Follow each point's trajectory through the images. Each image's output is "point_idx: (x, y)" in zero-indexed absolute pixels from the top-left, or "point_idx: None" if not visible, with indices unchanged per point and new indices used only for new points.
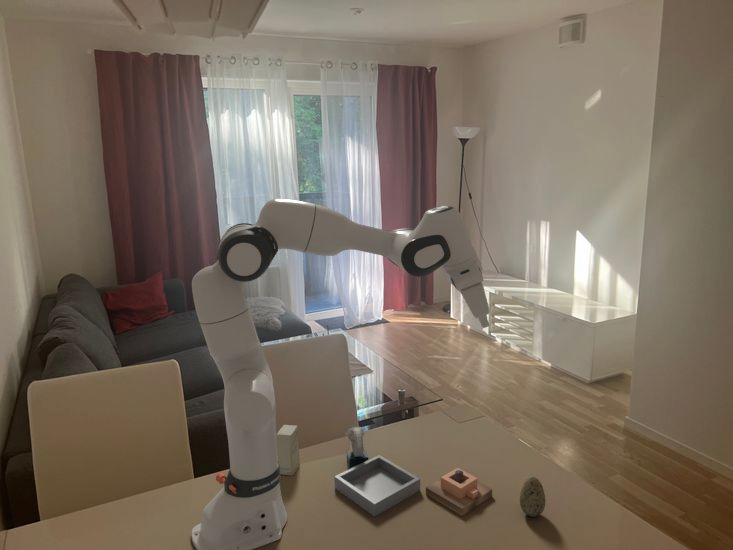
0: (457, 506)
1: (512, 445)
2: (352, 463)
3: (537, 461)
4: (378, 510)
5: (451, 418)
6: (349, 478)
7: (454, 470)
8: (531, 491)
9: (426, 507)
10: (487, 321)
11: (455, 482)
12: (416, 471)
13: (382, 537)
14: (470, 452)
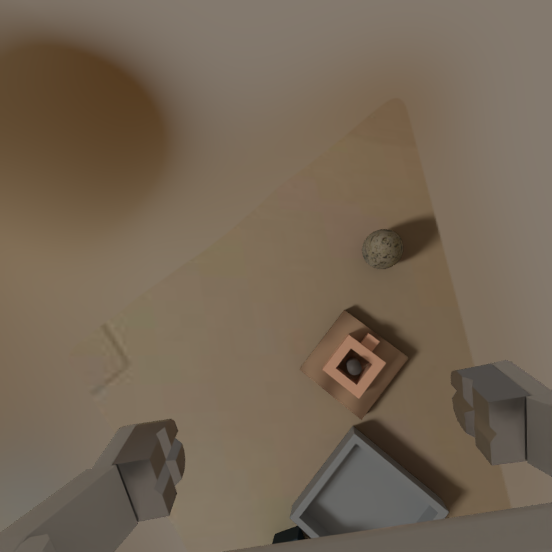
0: (402, 365)
1: (192, 274)
2: None
3: (234, 237)
4: (436, 496)
5: (114, 378)
6: None
7: (332, 374)
8: (400, 248)
9: (395, 413)
10: (537, 385)
11: (370, 372)
12: (297, 435)
13: (489, 480)
14: (224, 343)
